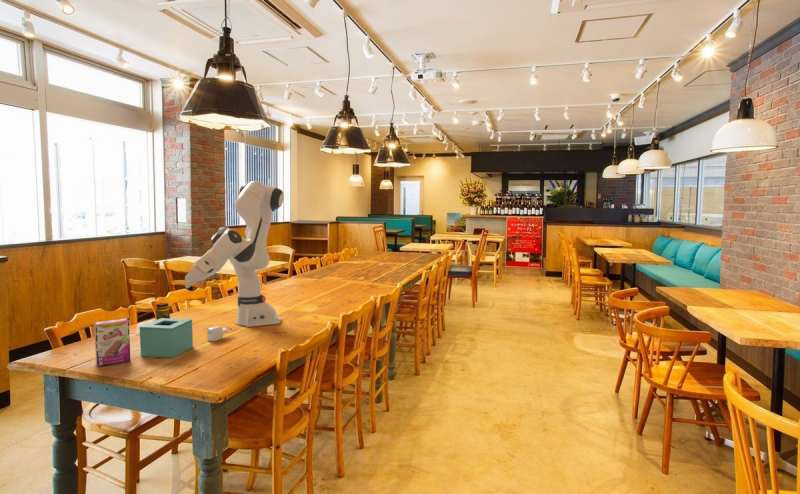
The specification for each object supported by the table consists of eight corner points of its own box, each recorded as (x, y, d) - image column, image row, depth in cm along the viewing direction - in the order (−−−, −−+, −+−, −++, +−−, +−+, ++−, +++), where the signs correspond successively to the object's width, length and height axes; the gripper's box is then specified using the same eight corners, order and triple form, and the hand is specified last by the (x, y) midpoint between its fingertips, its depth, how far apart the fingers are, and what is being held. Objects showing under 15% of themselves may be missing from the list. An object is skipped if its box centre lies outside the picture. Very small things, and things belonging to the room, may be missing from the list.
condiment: (171, 327, 227) (170, 304, 226) (152, 330, 223) (151, 306, 221) (169, 324, 233) (168, 301, 232) (151, 326, 229) (149, 303, 227)
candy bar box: (97, 367, 173) (94, 325, 171) (95, 363, 177) (93, 322, 175) (131, 361, 180) (129, 320, 178) (129, 358, 184) (127, 317, 182)
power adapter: (226, 334, 217) (226, 322, 216) (233, 336, 214) (233, 323, 214) (206, 340, 207) (205, 327, 207) (213, 342, 205) (213, 329, 204)
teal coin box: (192, 346, 198) (191, 319, 197) (173, 357, 185) (171, 328, 183) (162, 345, 200) (161, 318, 199) (140, 355, 186) (139, 326, 185)
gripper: (219, 252, 206) (200, 274, 209) (194, 261, 186) (173, 284, 189) (229, 262, 206) (211, 283, 209) (205, 272, 186) (185, 295, 189)
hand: (193, 284), depth 198 cm, fingers open, 8 cm apart
